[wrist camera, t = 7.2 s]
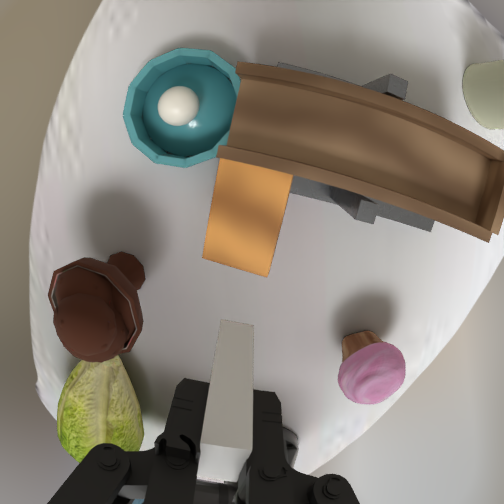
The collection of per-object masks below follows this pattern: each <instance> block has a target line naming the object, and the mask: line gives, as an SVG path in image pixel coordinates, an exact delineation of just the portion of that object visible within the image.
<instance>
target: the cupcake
mask: <svg viewBox="0 0 504 504" xmlns="http://www.w3.org/2000/svg"><path fill="white" fill-rule="evenodd" d="M342 354H343V360H342V364H341V366H340V369H339V374H338V383H339V386H340V388H341V390H342V391H343V393H344V395H345V396H346V397H347V398H348V399H350V400H351V401H353V402H355V403H360V404H376V403H380V402H382V401H384V400H386V399H387V398H388V397H389V396H391V395H392V394H393V393H394V392H396V391H397V390H398V389H399V388H400V387H401V385H402V384H403V382H404V378H405V360H404V358H403V355H402V353H401V351H400V350H399V349H398V348H397V347H395V346H394V345H392V344H389V343H387V342H383V341H382V340H381V339H380V338H379V337H378V336H377V335H376V334H375V333H373V332H372V331H363V332H359V333H355V334H351V335H348V336H346V337H345V338H344V339H343V341H342Z"/></svg>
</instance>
